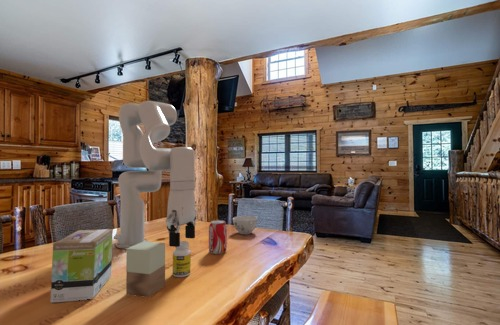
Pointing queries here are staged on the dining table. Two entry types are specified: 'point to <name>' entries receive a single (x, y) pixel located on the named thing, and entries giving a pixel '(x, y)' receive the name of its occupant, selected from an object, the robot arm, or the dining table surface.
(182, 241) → the supplement bottle
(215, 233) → the soda can
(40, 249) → the dining table surface
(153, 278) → the bottom block
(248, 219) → the teacup
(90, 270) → the tea box
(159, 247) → the top block
